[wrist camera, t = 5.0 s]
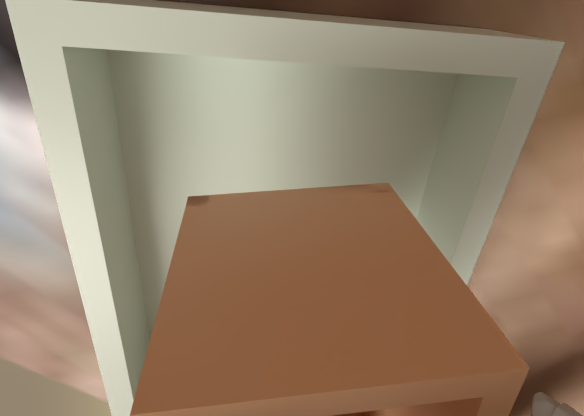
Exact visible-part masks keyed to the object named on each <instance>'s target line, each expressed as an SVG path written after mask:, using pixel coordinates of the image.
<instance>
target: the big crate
mask: <svg viewBox="0 0 584 416" xmlns="http://www.w3.org/2000/svg"><path fill="white" fill-rule="evenodd" d="M5 1H6V5H7V9H8V13H9V17H10V21H11V24H12V28H13V32H14V36H15V40H16V44H17V48H18V52H19V56H20V60H21V63H22V67H23V71H24V75H25V79H26V83H27V87H28V91H29V95H30V99H31V102H32V106H33V110H34V114H35V118H36V122H37V126H38V130H39V134H40V138H41V141H42V145H43V149H44V153H45V157H46V161H47V165H48V169H49V173H50V177H51V180H52V184H53V188H54V192H55V196H56V200H57V204H58V208H59V212H60V216H61V219H62V223H63V227H64V231H65V235H66V239H67V243H68V247H69V251H70V255H71V258H72V262H73V266H74V270H75V274H76V278H77V282H78V286H79V290H80V294H81V298H82V301H83V305H84V309H85V313H86V317H87V321H88V325H89V329H90V333H91V337H92V340H93V344H94V348H95V352H96V356H97V360H98V364H99V368H100V372H101V376H102V379H103V383H104V387H105V391H106V395H107V399H108V403H109V407H110V411H111V414H112V416H130V412H131V409H132V405H133V401H134V397H135V394H136V390H137V386H138V382H139V379H140V375H141V371H142V368H143V364H144V360H145V356H146V353H147V349H148V345H149V341H150V338H151V334H152V330H153V326H154V323H155V319H156V315H157V311H158V308H159V304H160V300H161V297H162V293H163V289H164V285H165V282H166V278H167V274H168V270H169V267H170V263H171V259H172V255H173V252H174V248H175V244H176V241H177V237H178V233H179V229H180V226H181V222H182V218H183V214H184V211H185V207H186V203H187V199H188V196H201V195H216V194H230V193H245V192H259V191H274V190H288V189H303V188H317V187H332V186H346V185H361V184H375V183H389V184H390V185H391V187H392V188H393V189H394V191H395V192H396V193H397V194H398V196H399V197H400V198H401V200H402V201H403V202H404V204H405V205H406V206H407V208H408V209H409V210H410V212H411V213H412V214H413V216H414V217H415V218H416V219H417V221H418V222H419V223H420V225H421V226H422V227H423V229H424V230H425V231H426V233H427V234H428V235H429V237H430V238H431V239H432V241H433V242H434V243H435V244H436V246H437V247H438V248H439V250H440V251H441V252H442V254H443V255H444V256H445V258H446V259H447V260H448V262H449V263H450V264H451V266H452V267H453V268H454V269H455V271H456V272H457V273H458V275H459V276H460V277H461V279H462V280H463V281H464V283H465V284H466V285H467V284H468V282H469V279H470V277H471V274H472V272H473V269H474V267H475V264H476V262H477V259H478V257H479V254H480V252H481V249H482V247H483V244H484V242H485V239H486V237H487V235H488V232H489V230H490V227H491V225H492V222H493V220H494V217H495V215H496V212H497V210H498V207H499V205H500V202H501V200H502V197H503V195H504V192H505V190H506V187H507V185H508V182H509V180H510V177H511V175H512V173H513V170H514V168H515V165H516V163H517V160H518V158H519V155H520V153H521V150H522V148H523V145H524V143H525V140H526V138H527V135H528V133H529V130H530V128H531V125H532V123H533V120H534V118H535V115H536V113H537V111H538V108H539V106H540V103H541V101H542V98H543V96H544V93H545V91H546V88H547V86H548V83H549V81H550V78H551V76H552V73H553V71H554V68H555V66H556V63H557V61H558V58H559V56H560V53H561V51H562V49H563V46H564V44H565V42H562V41H556V40H550V39H544V38H538V37H532V36H526V35H520V34H514V33H508V32H502V31H496V30H490V29H483V28H471V27H460V26H448V25H437V24H425V23H414V22H402V21H391V20H379V19H368V18H357V17H345V16H334V15H322V14H311V13H299V12H288V11H276V10H265V9H253V8H242V7H230V6H219V5H207V4H196V3H184V2H173V1H161V0H5Z"/></svg>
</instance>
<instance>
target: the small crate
mask: <svg viewBox="0 0 584 416" xmlns="http://www.w3.org/2000/svg"><path fill="white" fill-rule="evenodd" d="M529 369H530V368H529V367H528V366H527V364H526V363H525V362H524V360H523V359H522V358H521V356H520V355H519V354H518V352H517V351H516V350H515V348H514V347H513V346H512V344H511V343H510V342H509V341H508V339H507V338H506V337H505V335H504V334H503V333H502V331H501V330H500V329H499V327H498V326H497V325H496V323H495V322H494V321H493V319H492V318H491V317H490V316H489V314H488V313H487V312H486V310H485V309H484V308H483V306H482V305H481V304H480V302H479V301H478V300H477V298H476V297H475V296H474V294H473V293H472V292H471V291H470V289H469V288H468V287H467V285H466V284H465V283H464V281H463V280H462V279H461V277H460V276H459V275H458V273H457V272H456V271H455V269H454V268H453V267H452V266H451V264H450V263H449V262H448V260H447V259H446V258H445V256H444V255H443V254H442V252H441V251H440V250H439V248H438V247H437V246H436V244H435V243H434V242H433V241H432V239H431V238H430V237H429V235H428V234H427V233H426V231H425V230H424V229H423V227H422V226H421V225H420V223H419V222H418V221H417V219H416V218H415V217H414V216H413V214H412V213H411V212H410V210H409V209H408V208H407V206H406V205H405V204H404V202H403V201H402V200H401V198H400V197H399V196H398V194H397V193H396V192H395V191H394V189H393V188H392V187H391V185H390V184H389V183H375V184H361V185H346V186H332V187H317V188H303V189H288V190H274V191H259V192H245V193H230V194H216V195H201V196H188V199H187V203H186V207H185V211H184V214H183V218H182V222H181V226H180V229H179V233H178V237H177V241H176V244H175V248H174V252H173V255H172V259H171V263H170V267H169V270H168V274H167V278H166V282H165V285H164V289H163V293H162V297H161V300H160V304H159V308H158V311H157V315H156V319H155V323H154V326H153V330H152V334H151V338H150V341H149V345H148V349H147V353H146V356H145V360H144V364H143V368H142V371H141V375H140V379H139V382H138V386H137V390H136V394H135V397H134V401H133V405H132V409H131V412H130V416H509V414H510V412H511V409H512V407H513V405H514V403H515V400H516V398H517V396H518V394H519V392H520V389H521V387H522V385H523V383H524V380H525V378H526V376H527V374H528V371H529Z"/></svg>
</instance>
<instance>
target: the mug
mask: <svg viewBox="0 0 584 416" xmlns="http://www.w3.org/2000/svg"><path fill="white" fill-rule="evenodd" d="M531 416H582V415H581V414H580V413H578V412H577V411H576V410H574V409H573V408H571V407H570V406H568V405H567V404H565V403H562V404H560V403H558V402H557V401H555V400H554V399H552V398H551V397H549V396H548V395H546V394H545V393H543V392H538V393H536V394H534V396H533V401H532V413H531Z"/></svg>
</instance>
